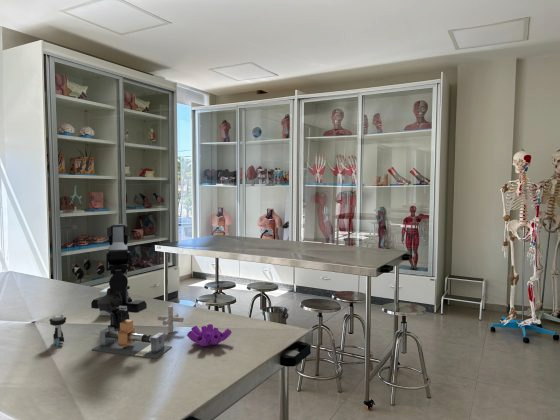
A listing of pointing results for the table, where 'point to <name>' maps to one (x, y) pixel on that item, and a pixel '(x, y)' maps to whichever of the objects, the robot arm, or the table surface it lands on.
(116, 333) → the linear slide rail
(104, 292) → the skincare box
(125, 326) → the collar
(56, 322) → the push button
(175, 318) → the pipe connector
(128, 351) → the grey base plate
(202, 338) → the purple tube cluster
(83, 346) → the table surface
